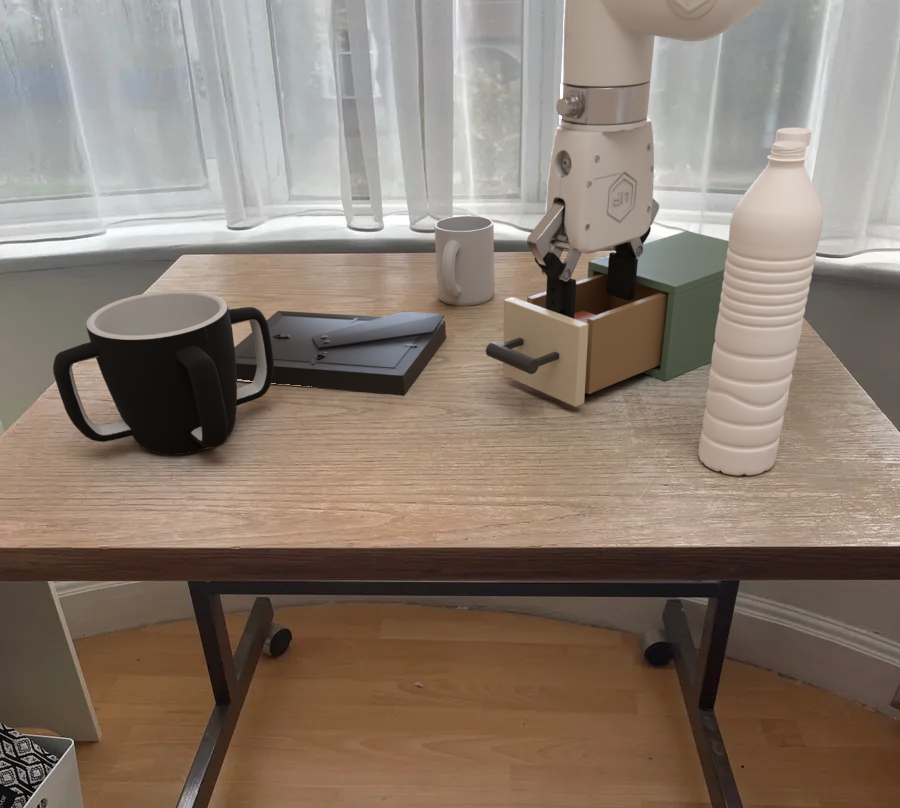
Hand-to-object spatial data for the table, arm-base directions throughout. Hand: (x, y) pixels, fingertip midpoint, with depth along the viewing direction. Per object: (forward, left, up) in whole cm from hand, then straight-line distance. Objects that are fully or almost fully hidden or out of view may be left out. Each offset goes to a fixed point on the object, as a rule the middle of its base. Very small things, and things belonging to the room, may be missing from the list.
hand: (590, 306), depth 88 cm
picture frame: (+23, +15, -8) cm, 29 cm away
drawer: (0, +1, -7) cm, 7 cm away
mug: (+17, +36, -8) cm, 41 cm away
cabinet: (0, -14, -8) cm, 16 cm away
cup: (+28, -7, -8) cm, 30 cm away
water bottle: (-20, +1, -8) cm, 22 cm away
